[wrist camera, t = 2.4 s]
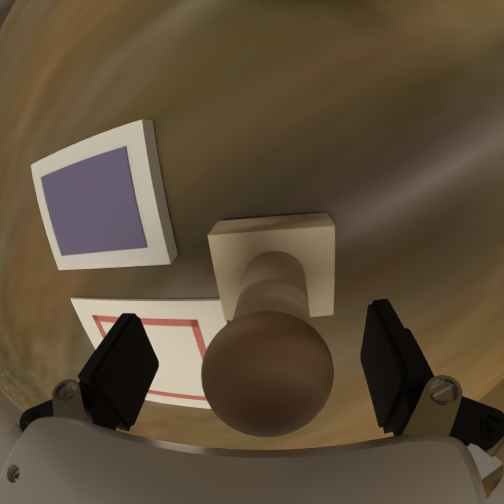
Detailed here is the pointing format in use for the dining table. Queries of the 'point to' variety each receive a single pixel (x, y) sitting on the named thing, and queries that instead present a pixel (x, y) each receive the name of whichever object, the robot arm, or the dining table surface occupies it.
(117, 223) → the ink pad
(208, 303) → the paper sheet
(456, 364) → the dining table surface
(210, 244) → the stamp
